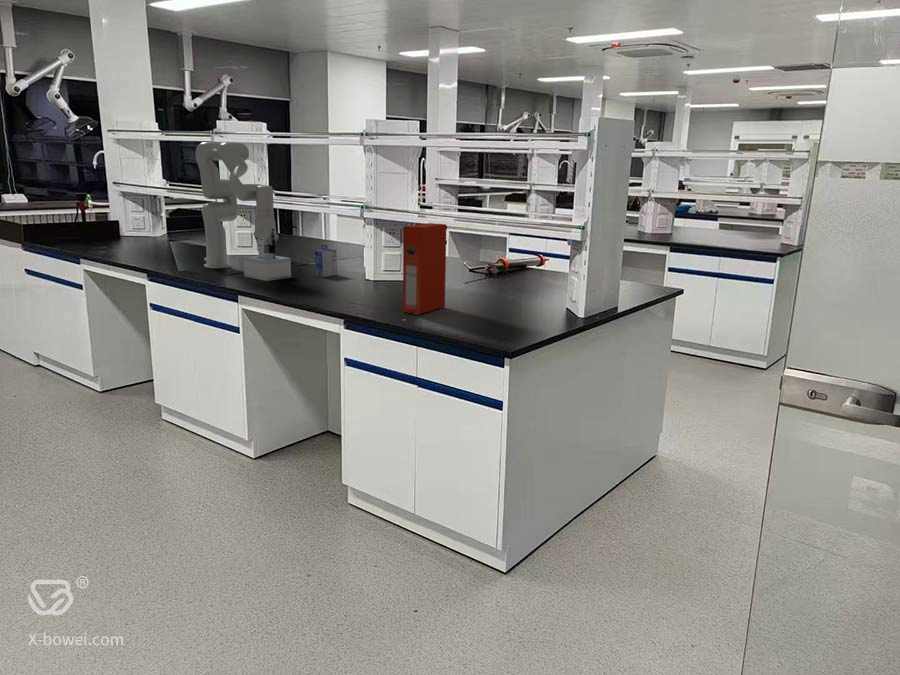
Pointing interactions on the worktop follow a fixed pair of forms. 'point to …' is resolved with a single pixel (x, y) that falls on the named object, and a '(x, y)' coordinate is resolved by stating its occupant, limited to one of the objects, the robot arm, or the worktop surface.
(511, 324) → the worktop surface
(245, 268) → the drop box
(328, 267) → the ink cartridge box
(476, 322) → the worktop surface
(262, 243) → the syrup box
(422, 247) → the file binder
